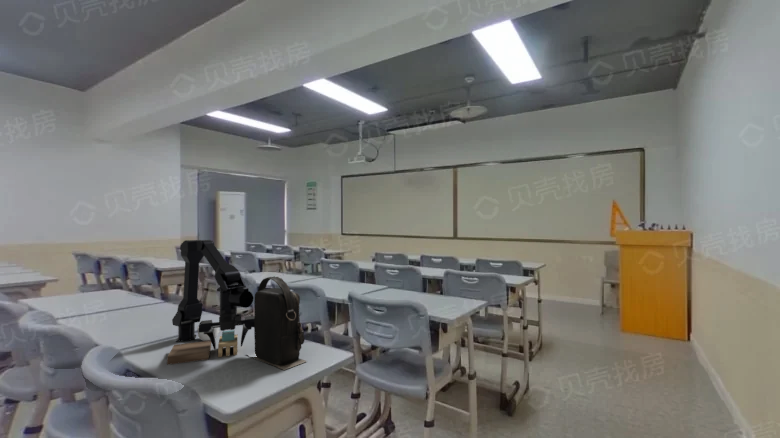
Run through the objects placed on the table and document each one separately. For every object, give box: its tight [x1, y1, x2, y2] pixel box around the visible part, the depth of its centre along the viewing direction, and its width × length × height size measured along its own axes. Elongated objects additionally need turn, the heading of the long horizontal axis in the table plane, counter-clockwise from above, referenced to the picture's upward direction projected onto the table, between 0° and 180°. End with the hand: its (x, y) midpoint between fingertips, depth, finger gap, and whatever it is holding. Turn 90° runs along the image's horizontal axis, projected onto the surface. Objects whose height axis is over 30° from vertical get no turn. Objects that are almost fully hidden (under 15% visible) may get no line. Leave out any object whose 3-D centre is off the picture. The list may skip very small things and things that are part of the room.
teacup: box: [196, 325, 222, 342], centre depth 144 cm, size 10×8×5 cm
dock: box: [166, 340, 212, 365], centre depth 125 cm, size 13×12×2 cm
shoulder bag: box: [253, 276, 308, 371], centre depth 123 cm, size 23×9×28 cm, turn 53°
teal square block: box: [221, 329, 236, 341], centre depth 130 cm, size 4×4×2 cm
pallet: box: [217, 334, 239, 358], centre depth 130 cm, size 10×6×4 cm, turn 22°
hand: (228, 347), depth 130 cm, fingers open, 8 cm apart
